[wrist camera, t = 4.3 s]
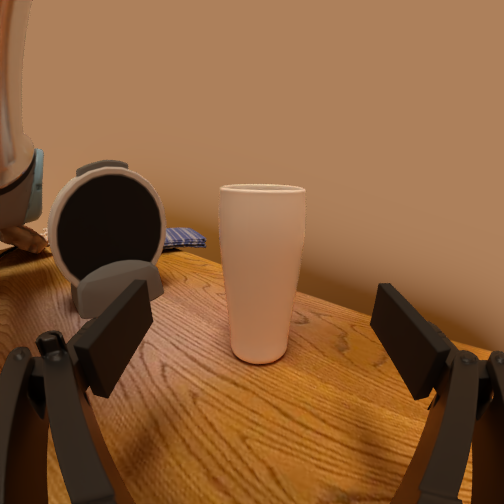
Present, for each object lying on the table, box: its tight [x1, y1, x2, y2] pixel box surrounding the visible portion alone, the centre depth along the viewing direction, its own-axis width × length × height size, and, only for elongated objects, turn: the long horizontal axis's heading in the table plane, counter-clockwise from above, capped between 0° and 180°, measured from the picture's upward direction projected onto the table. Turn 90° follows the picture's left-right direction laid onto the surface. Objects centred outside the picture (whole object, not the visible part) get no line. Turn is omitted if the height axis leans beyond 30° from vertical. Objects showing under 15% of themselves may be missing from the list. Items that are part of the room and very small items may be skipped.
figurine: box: [40, 227, 48, 241], centre depth 61 cm, size 5×12×7 cm
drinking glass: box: [219, 184, 306, 364], centre depth 23 cm, size 7×7×15 cm
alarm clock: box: [48, 160, 166, 319], centre depth 32 cm, size 16×10×18 cm, turn 136°
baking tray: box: [0, 225, 50, 254], centre depth 47 cm, size 30×22×5 cm
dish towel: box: [163, 228, 206, 249], centre depth 58 cm, size 17×24×3 cm
